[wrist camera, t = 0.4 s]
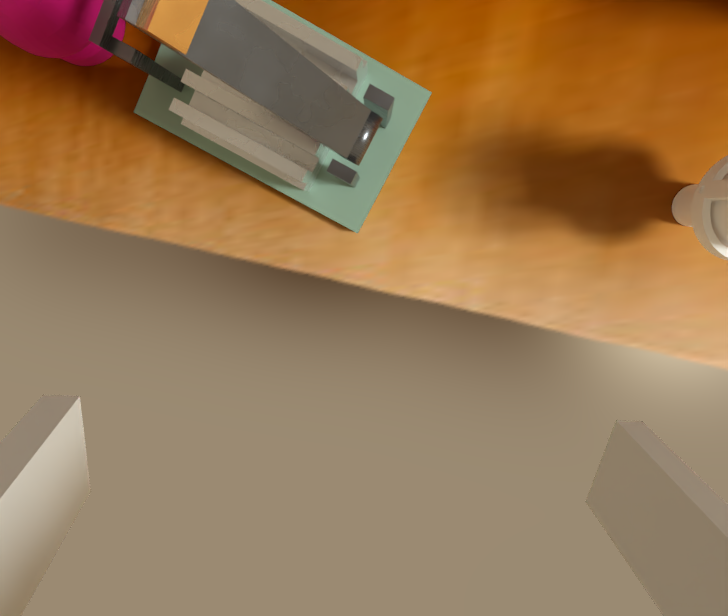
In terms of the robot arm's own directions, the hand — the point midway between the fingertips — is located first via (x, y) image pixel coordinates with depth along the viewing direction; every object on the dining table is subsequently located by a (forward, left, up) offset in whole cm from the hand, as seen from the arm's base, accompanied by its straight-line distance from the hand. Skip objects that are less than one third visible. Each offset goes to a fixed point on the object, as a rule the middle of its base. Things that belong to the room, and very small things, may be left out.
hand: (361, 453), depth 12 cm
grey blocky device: (-9, -12, -25) cm, 30 cm away
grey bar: (-9, -10, -15) cm, 20 cm away
